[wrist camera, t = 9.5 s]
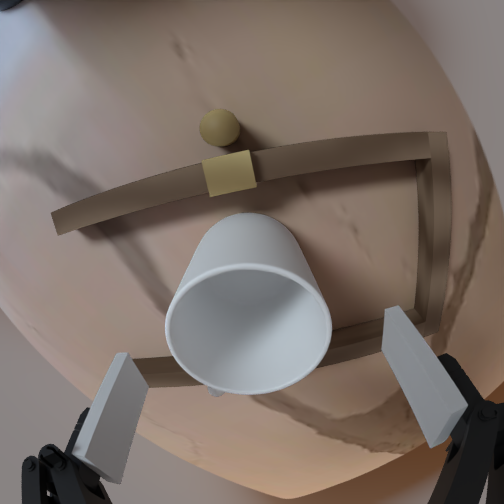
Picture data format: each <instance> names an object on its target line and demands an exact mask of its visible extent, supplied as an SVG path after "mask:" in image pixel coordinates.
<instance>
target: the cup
mask: <svg viewBox="0 0 504 504" xmlns="http://www.w3.org/2000/svg"><path fill="white" fill-rule="evenodd" d="M165 334H166V339H167V343H168V346H169V349H170V351H171V353H172V355H173V357H174V358H175V360H176V361H177V363H178V364H179V365H180V366H181V367H182V368H183V369H184V370H185V371H186V372H187V373H188V374H189V375H190V376H192V377H193V378H194V379H196V380H198V381H199V382H201V383H203V384H205V385H207V386H208V391H209V393H210V394H211V395H213V396H215V397H218V396H222V395H223V394H224V393H225V392H228V393H233V394H243V395H254V394H264V393H270V392H274V391H278V390H281V389H284V388H286V387H289V386H291V385H293V384H295V383H297V382H298V381H300V380H301V379H303V378H304V377H306V376H307V375H308V374H310V373H311V372H312V371H313V370H314V369H315V368H316V367H317V365H318V364H319V363H320V362H321V360H322V359H323V357H324V355H325V354H326V352H327V349H328V347H329V344H330V341H331V336H332V320H331V315H330V312H329V309H328V307H327V304H326V302H325V300H324V298H323V296H322V293H321V291H320V289H319V287H318V285H317V282H316V280H315V278H314V276H313V274H312V272H311V270H310V267H309V265H308V263H307V261H306V259H305V257H304V255H303V253H302V251H301V248H300V246H299V244H298V242H297V241H296V239H295V237H294V236H293V235H292V233H291V232H290V231H289V230H288V229H287V228H286V227H285V226H284V225H283V224H281V223H280V222H279V221H277V220H275V219H273V218H271V217H269V216H266V215H263V214H258V213H239V214H235V215H231V216H228V217H226V218H224V219H222V220H220V221H219V222H217V223H216V224H215V225H213V226H212V227H211V228H210V229H209V230H208V231H207V232H206V234H205V235H204V236H203V238H202V240H201V241H200V243H199V245H198V247H197V249H196V251H195V253H194V255H193V257H192V259H191V262H190V264H189V266H188V268H187V270H186V272H185V274H184V276H183V278H182V281H181V283H180V285H179V287H178V289H177V291H176V293H175V296H174V298H173V300H172V302H171V304H170V307H169V309H168V312H167V315H166V321H165Z"/></svg>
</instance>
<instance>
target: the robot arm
mask: <svg viewBox="0 0 504 504" xmlns="http://www.w3.org/2000/svg"><path fill="white" fill-rule="evenodd" d="M20 1H22V0H0V10H6V9H8V8H10V7H12V6H14V5H16V4H17V3H19V2H20ZM381 350H382V352H383V354H384V356H385V357H386V359H387V361H388V363H389V365H390V367H391V369H392V371H393V372H394V374H395V376H396V378H397V380H398V382H399V384H400V386H401V388H402V390H403V392H404V394H405V396H406V398H407V400H408V402H409V404H410V406H411V408H412V410H413V412H414V414H415V416H416V419H417V421H418V423H419V425H420V427H421V429H422V431H423V434H424V436H425V438H426V440H427V442H428V445H429V447H430V448H432V447H434V446H436V445H439V444H441V443H443V442H445V441H446V440H447V438H448V436H449V435H451V437H452V442H451V443H450V444H449V446H448V447H447V449H446V451H448V450H449V451H448V454H447V457H446V460H445V463H444V466H443V469H442V471H441V474H440V476H439V479H438V482H437V484H436V486H435V489H434V491H433V493H432V495H431V498H430V500H429V502H428V504H479V501H480V498H481V495H482V492H483V489H484V486H485V483H486V479H487V476H488V488H487V498H486V504H504V403H500V404H495V403H494V402H491V401H485V400H484V399H483V398H482V396H481V395H480V393H479V392H478V390H477V389H476V387H475V386H474V385H473V383H472V382H471V380H470V379H469V377H468V376H467V375H466V373H465V372H464V370H463V369H461V366H460V365H459V363H458V362H457V361H456V359H455V358H453V357H452V356H450V355H449V354H447V353H445V354H443V355H441V356H438V357H436V355H435V354H434V352H433V351H432V350H431V348H430V347H429V345H428V344H427V343H426V341H425V340H424V338H423V337H422V336H421V334H420V333H419V332H418V330H417V329H416V328H415V326H414V325H413V324H412V322H411V321H410V320H409V318H408V317H407V316H406V314H405V313H404V312H403V311H402V309H401V308H400V307H399V305H398V306H394V307H391V308H387V309H385V316H384V328H383V339H382V348H381ZM148 388H149V386H148V384H147V383H146V381H145V380H144V378H143V376H142V375H141V373H140V372H139V370H138V368H137V367H136V365H135V363H134V362H133V360H132V358H131V357H130V355H129V353H116V355H115V357H114V359H113V361H112V363H111V365H110V367H109V370H108V372H107V374H106V376H105V378H104V380H103V382H102V384H101V386H100V388H99V390H98V393H97V395H96V397H95V399H94V401H93V404H92V406H91V408H86V409H85V410H84V411H83V413H82V414H81V415H80V417H79V419H78V422H77V424H76V426H75V430H74V431H73V433H72V435H71V438H70V440H69V442H68V445H67V447H66V450H65V452H64V453H63V452H62V451H61V450H60V449H59V448H58V447H56V446H55V445H54V444H48V445H45V446H44V447H42V449H41V450H40V452H39V455H38V458H36V457H35V456H29V457H27V458H26V459H25V460H24V462H23V465H22V504H112V502H111V500H110V498H109V497H108V494H107V492H106V490H105V488H104V486H103V485H102V483H101V482H100V481H99V480H100V476H101V477H102V478H103V479H105V480H106V481H108V482H112V483H116V484H121V481H122V477H123V473H124V469H125V465H126V462H127V458H128V455H129V451H130V447H131V444H132V440H133V437H134V433H135V430H136V427H137V423H138V420H139V417H140V413H141V410H142V407H143V404H144V401H145V397H146V394H147V391H148ZM488 472H489V474H488ZM47 490H48V491H49V492H50V496H47Z"/></svg>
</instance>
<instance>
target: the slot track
mask: <svg viewBox="0 0 504 504" xmlns="http://www.w3.org/2000/svg"><path fill="white" fill-rule="evenodd" d="M200 133H201V136H202V138H203V139H204V140H205V141H206V142H207V143H208V144H210V145H213V146H229V145H231V144H233V143H234V142H235V141H236V140H237V139H238V137H239V135H240V126H239V123H238V121H237V119H236V117H235V116H234V115H233V114H232V113H231V112H229V111H227V110H224V109H215V110H212V111H210V112H208V113H207V114H206V115H205V116H204V117H203V119H202V120H201V123H200ZM414 159H415V164H416V176H417V190H418V213H419V248H418V272H417V286H416V297H415V307H414V309H411V310H408V311H405V312H404V313H405V314H406V316H407V317H408V318H409V320H410V321H411V322H412V324H413V325H414V326H415V328H416V329H417V330H418V332H419V333H420V334H421V336H422V337H426V336H429V335H431V334H434V333H436V332H438V331H439V326H440V321H441V315H442V310H443V304H444V298H445V291H446V283H447V275H448V266H449V255H450V240H451V176H450V161H449V150H448V141H447V133H446V132H406V133H388V134H375V135H363V136H353V137H343V138H335V139H327V140H319V141H312V142H305V143H298V144H292V145H286V146H280V147H274V148H269V149H263V150H258V151H253V152H249V150H245V151H241V152H236V153H231V154H227V155H222V156H218V157H214V158H209V159H205V160H202V163H199V164H195V165H191V166H188V167H184V168H180V169H176V170H173V171H169V172H166V173H162V174H159V175H155V176H152V177H148V178H145V179H142V180H139V181H135V182H132V183H129V184H126V185H123V186H120V187H117V188H114V189H111V190H108V191H105V192H102V193H100V194H97V195H94V196H91V197H89V198H86V199H83V200H81V201H78V202H75V203H73V204H70V205H68V206H65V207H63V208H61V209H58V210H56V211H54V212H52V213H51V215H52V219H53V222H54V225H55V228H56V231H57V234H58V235H61V234H64V233H67V232H70V231H73V230H76V229H79V228H82V227H85V226H89V225H92V224H95V223H98V222H101V221H105V220H108V219H111V218H114V217H118V216H121V215H125V214H128V213H132V212H135V211H139V210H142V209H146V208H150V207H153V206H157V205H161V204H165V203H168V202H172V201H176V200H180V199H184V198H188V197H193V196H197V195H201V194H205V193H209V195H210V197H213V196H218V195H222V194H227V193H231V192H236V191H241V190H245V189H250V188H255V187H257V186H256V182H261V181H266V180H272V179H277V178H282V177H288V176H294V175H299V174H305V173H311V172H318V171H324V170H331V169H337V168H344V167H352V166H359V165H367V164H375V163H384V162H393V161H403V160H414ZM383 328H384V318H381V319H377V320H373V321H370V322H366V323H362V324H358V325H354V326H350V327H346V328H342V329H338V330H334V331H332V336H331V341H330V344H329V347H328V349H327V352H326V354H325V355H324V357H323V359H322V360H321V362H320V363H319V364H318V365H317V367H316V368H319V367H323V366H328V365H332V364H336V363H340V362H344V361H348V360H352V359H356V358H360V357H363V356H367V355H370V354H374V353H377V352H381V351H382V350H381V348H382V339H383ZM132 360H133V362H134V363H135V365H136V367H137V368H138V370H139V372H140V373H141V375H142V376H143V378H144V380H145V381H146V383H147V384H148V386H149V388H155V387H180V386H195V385H205V384H203V383H201V382H199V381H198V380H196V379H194V378H193V377H192V376H190V375H189V374H188V373H187V372H186V371H185V370H184V369H183V368H182V367H181V366H180V365H179V364H178V363H177V361H176V360H175V358H174V357H173V356H170V357H157V358H142V359H132Z"/></svg>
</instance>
